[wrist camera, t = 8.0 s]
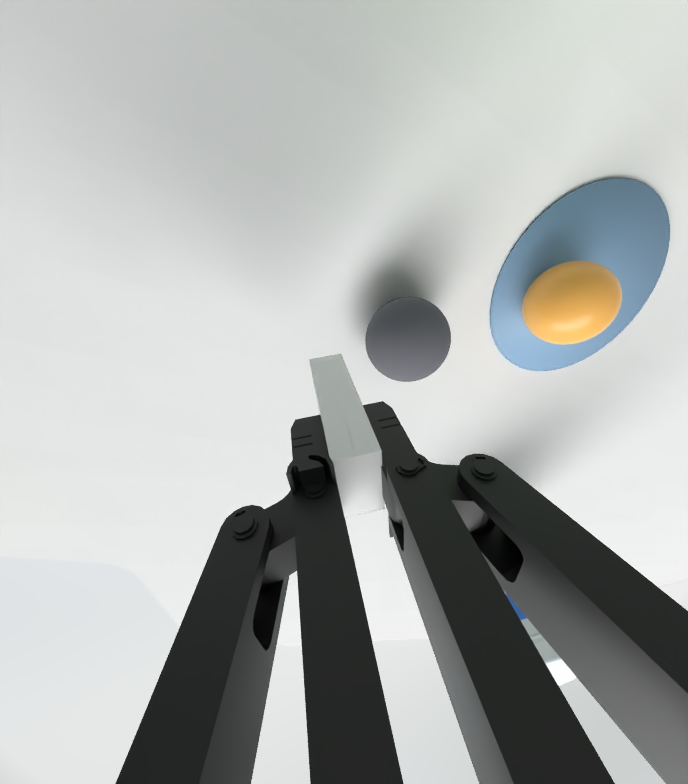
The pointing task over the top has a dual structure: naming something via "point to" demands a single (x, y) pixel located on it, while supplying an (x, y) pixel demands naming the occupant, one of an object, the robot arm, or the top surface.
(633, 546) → the top surface
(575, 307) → the object ball
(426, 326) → the gray sphere
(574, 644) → the robot arm
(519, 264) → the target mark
